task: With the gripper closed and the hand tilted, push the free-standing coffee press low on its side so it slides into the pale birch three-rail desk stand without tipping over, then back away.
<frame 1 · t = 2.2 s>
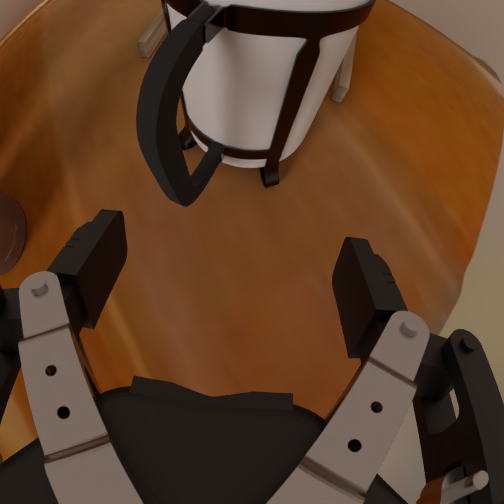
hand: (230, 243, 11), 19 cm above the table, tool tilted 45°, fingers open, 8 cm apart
coffee press: (244, 138, 32), on the table
birch stand: (261, 19, 35), on the table
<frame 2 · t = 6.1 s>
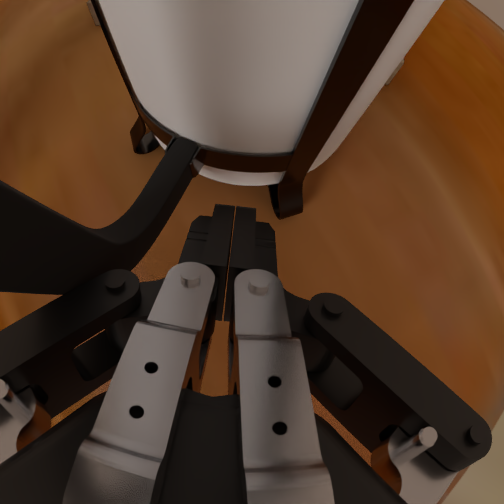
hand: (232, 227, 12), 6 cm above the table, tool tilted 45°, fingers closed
coffee press: (243, 132, 19), on the table, touching gripper
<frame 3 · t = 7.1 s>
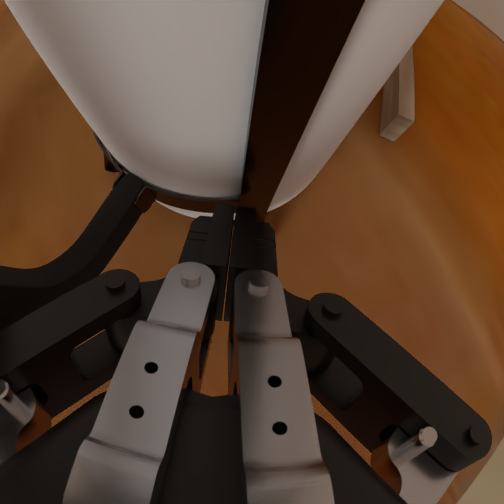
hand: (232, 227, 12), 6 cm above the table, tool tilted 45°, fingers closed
coffee press: (217, 156, 19), on the table, touching gripper
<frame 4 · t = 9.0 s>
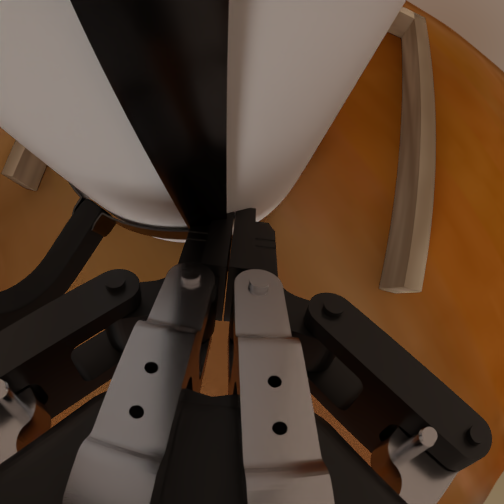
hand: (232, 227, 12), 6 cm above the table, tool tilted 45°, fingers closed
coffee press: (190, 172, 18), on the table, touching gripper
birch stand: (247, 78, 19), on the table
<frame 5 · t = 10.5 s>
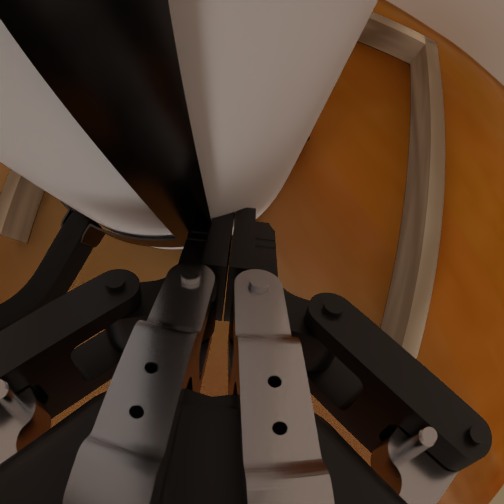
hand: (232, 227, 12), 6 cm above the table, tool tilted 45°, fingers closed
coffee press: (179, 178, 18), on the table, touching gripper
birch stand: (243, 119, 19), on the table
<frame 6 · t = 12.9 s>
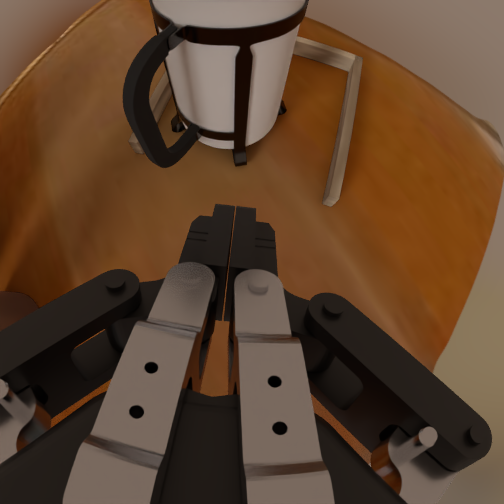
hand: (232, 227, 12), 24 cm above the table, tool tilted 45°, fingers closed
coffee press: (226, 126, 38), on the table
birch stand: (256, 102, 39), on the table
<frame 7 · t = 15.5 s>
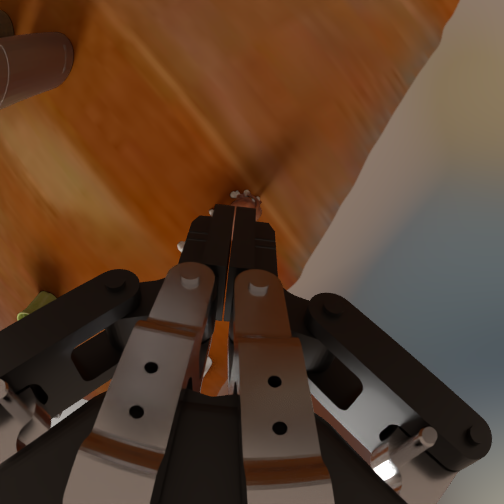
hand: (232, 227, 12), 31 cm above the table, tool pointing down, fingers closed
plant pot: (50, 299, 61), on the table
bull figurine: (224, 209, 47), on the table
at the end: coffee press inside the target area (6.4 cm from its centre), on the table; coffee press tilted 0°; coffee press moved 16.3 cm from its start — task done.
